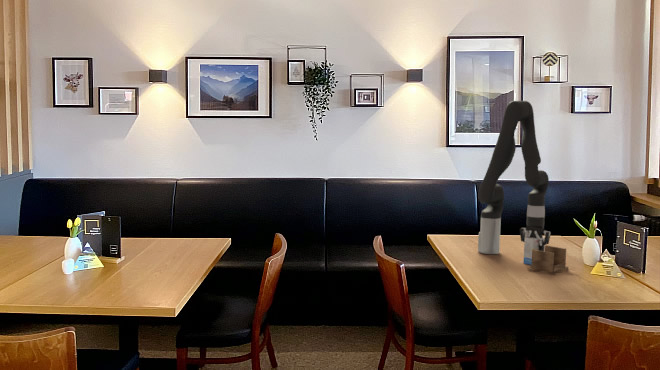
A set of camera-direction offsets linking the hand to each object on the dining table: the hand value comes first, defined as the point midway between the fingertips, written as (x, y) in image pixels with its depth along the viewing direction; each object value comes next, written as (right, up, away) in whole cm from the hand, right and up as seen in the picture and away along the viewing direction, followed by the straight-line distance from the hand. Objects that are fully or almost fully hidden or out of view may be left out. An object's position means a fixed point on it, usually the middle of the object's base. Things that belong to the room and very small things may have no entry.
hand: (534, 252), depth 268 cm
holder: (+2, -6, -11) cm, 13 cm away
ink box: (0, -5, +1) cm, 5 cm away
